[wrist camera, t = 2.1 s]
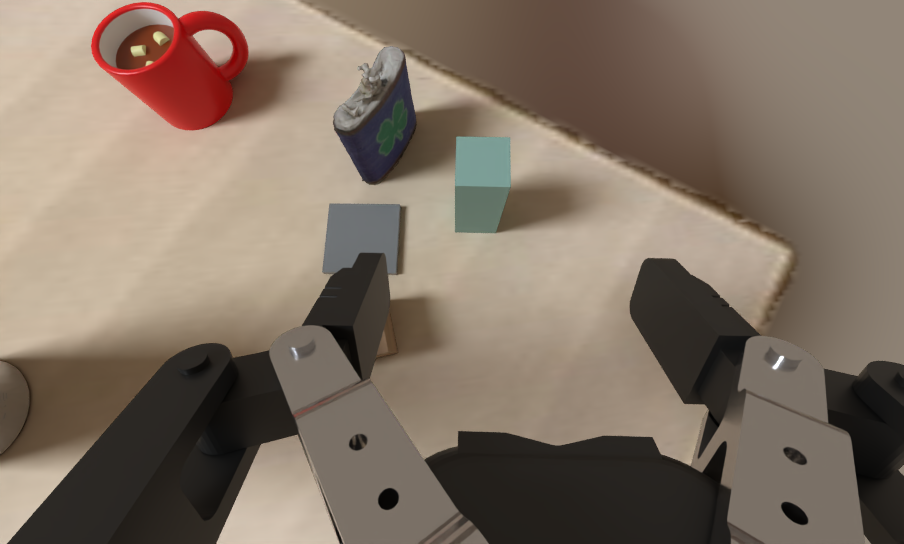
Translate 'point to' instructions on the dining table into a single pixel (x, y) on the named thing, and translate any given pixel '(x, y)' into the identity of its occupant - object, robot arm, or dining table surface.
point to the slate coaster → (361, 234)
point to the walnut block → (387, 340)
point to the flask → (378, 116)
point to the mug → (170, 61)
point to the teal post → (481, 182)
